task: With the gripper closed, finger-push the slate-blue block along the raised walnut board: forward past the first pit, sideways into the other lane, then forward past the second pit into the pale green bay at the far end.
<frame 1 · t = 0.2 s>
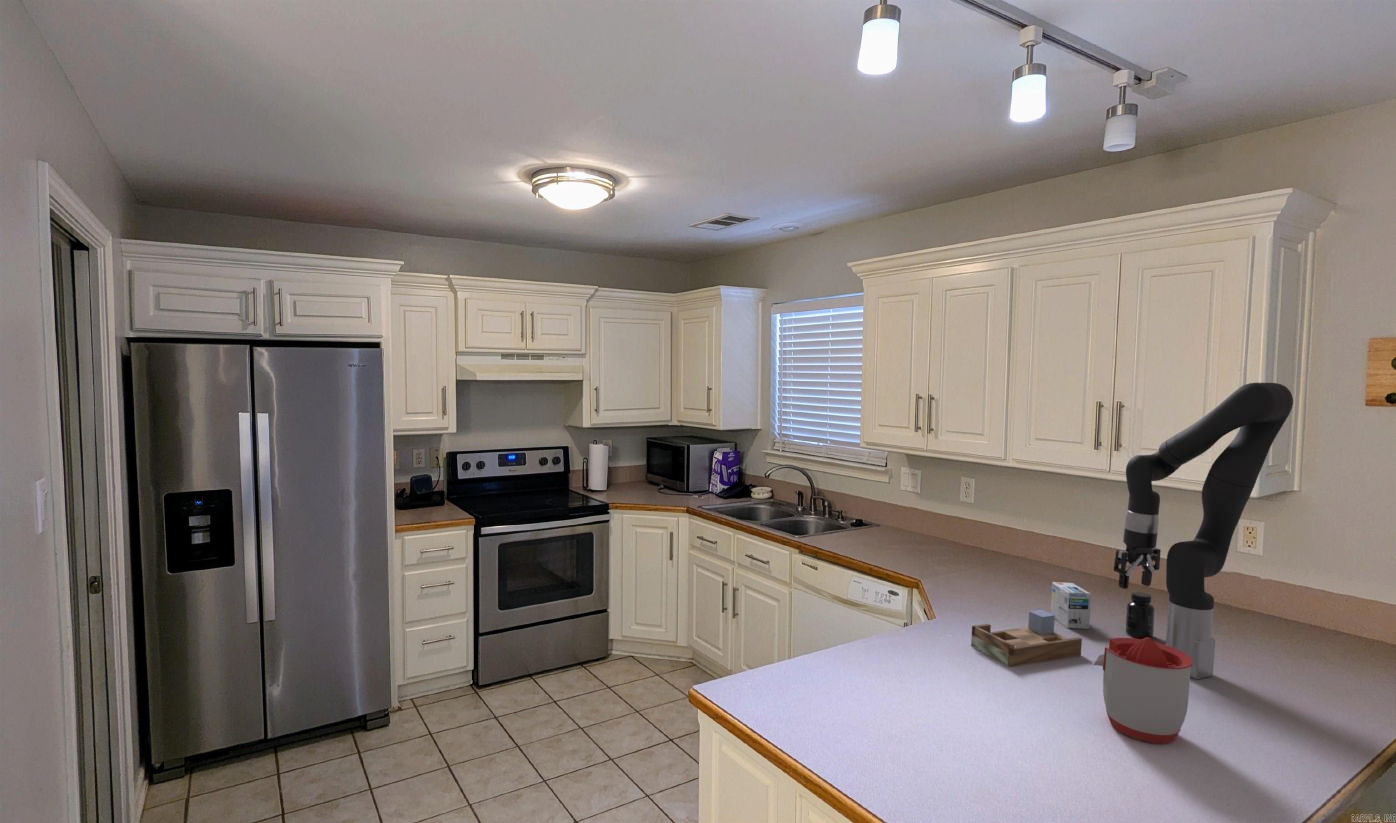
hand: (1134, 586, 189), 17 cm above the counter, tool pointing down, fingers open, 8 cm apart
block: (1040, 630, 194), point 3 cm above the counter, touching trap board
supplement bottle: (1138, 635, 201), on the counter
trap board: (1025, 650, 187), on the counter
light bulb box: (1069, 622, 210), on the counter
citrus juicer: (1136, 729, 147), on the counter
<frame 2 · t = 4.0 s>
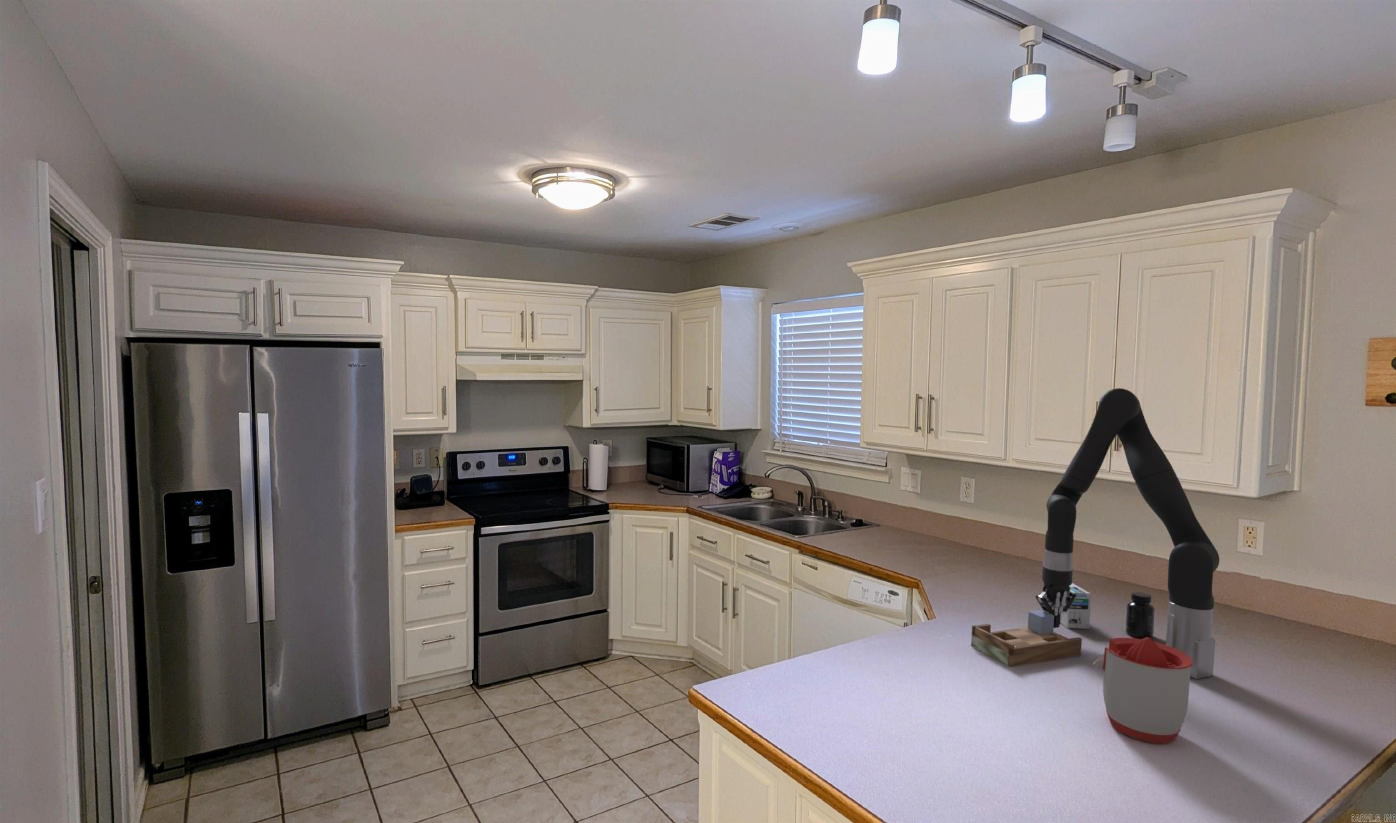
hand: (1054, 626, 196), 4 cm above the counter, tool pointing down, fingers closed
block: (1040, 630, 194), point 3 cm above the counter, touching gripper, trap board
everything else where it was.
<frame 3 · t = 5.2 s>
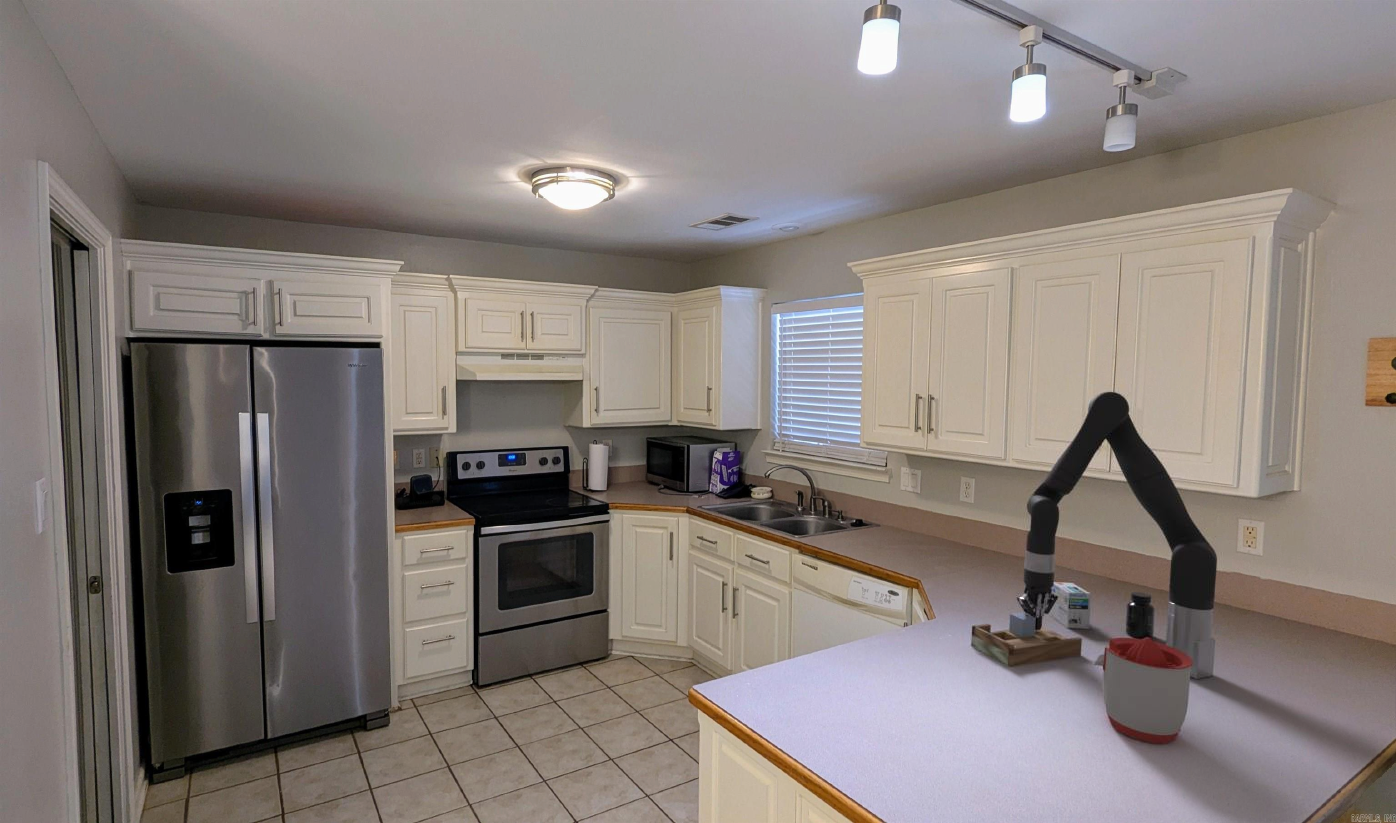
hand: (1035, 628, 193), 4 cm above the counter, tool pointing down, fingers closed
block: (1021, 633, 191), point 3 cm above the counter, touching gripper
everything else where it was.
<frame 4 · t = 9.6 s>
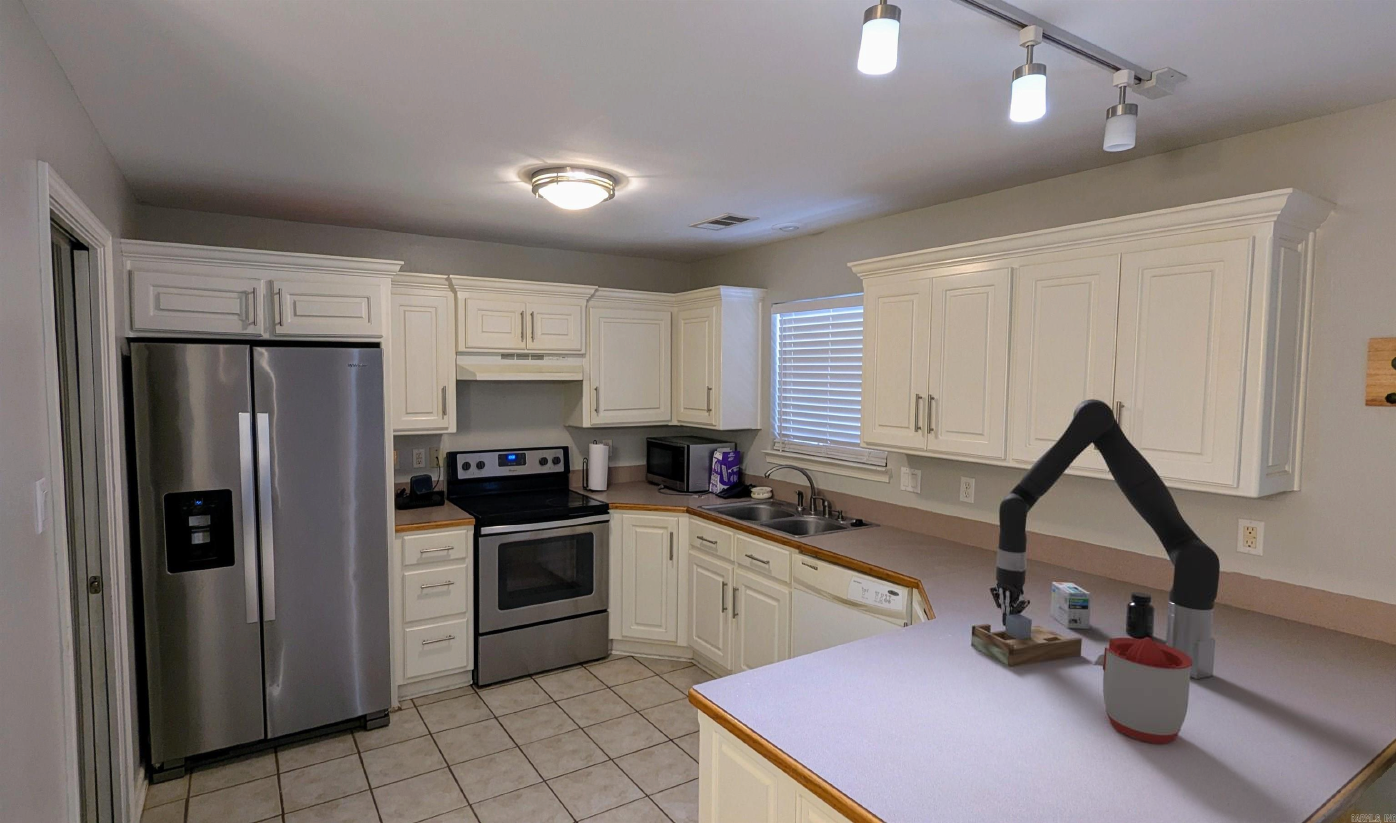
hand: (1007, 626, 195), 3 cm above the counter, tool pointing down, fingers closed
block: (1017, 635, 190), point 3 cm above the counter, touching gripper, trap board
everything else where it was.
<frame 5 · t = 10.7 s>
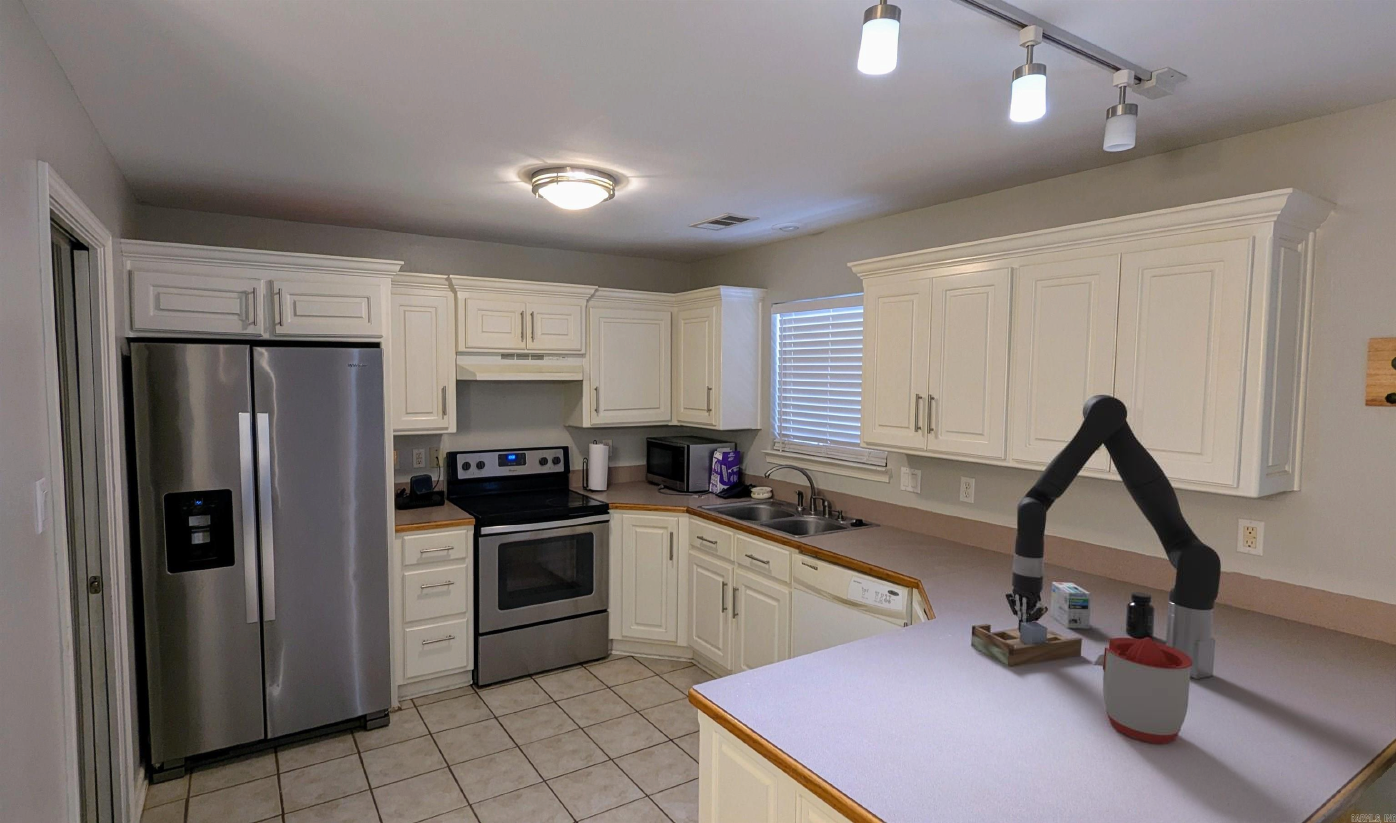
hand: (1024, 633, 190), 4 cm above the counter, tool pointing down, fingers closed
block: (1032, 643, 184), point 3 cm above the counter, touching gripper, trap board
everything else where it was.
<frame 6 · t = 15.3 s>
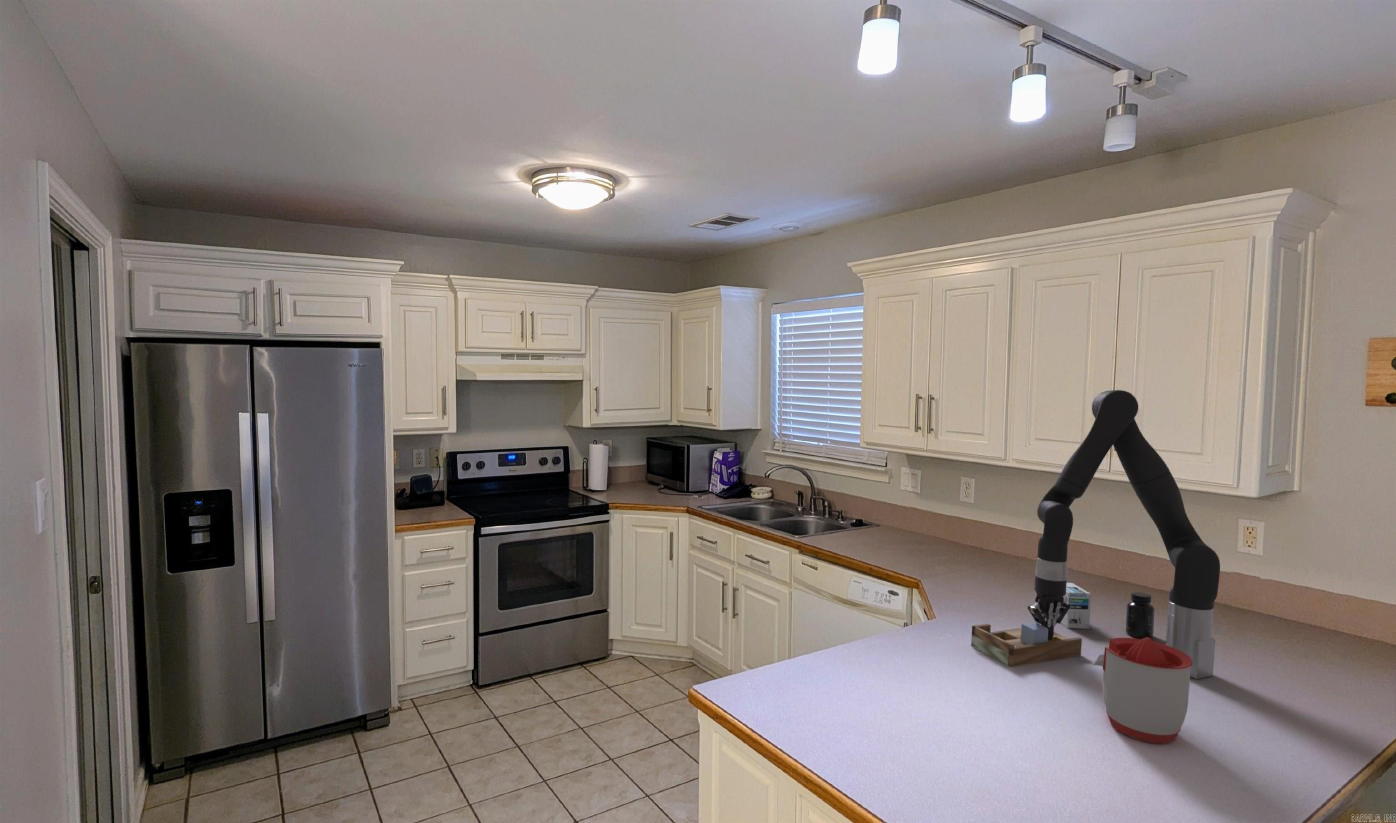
hand: (1047, 638, 186), 4 cm above the counter, tool pointing down, fingers closed
block: (1033, 644, 184), point 3 cm above the counter, touching gripper
everything else where it was.
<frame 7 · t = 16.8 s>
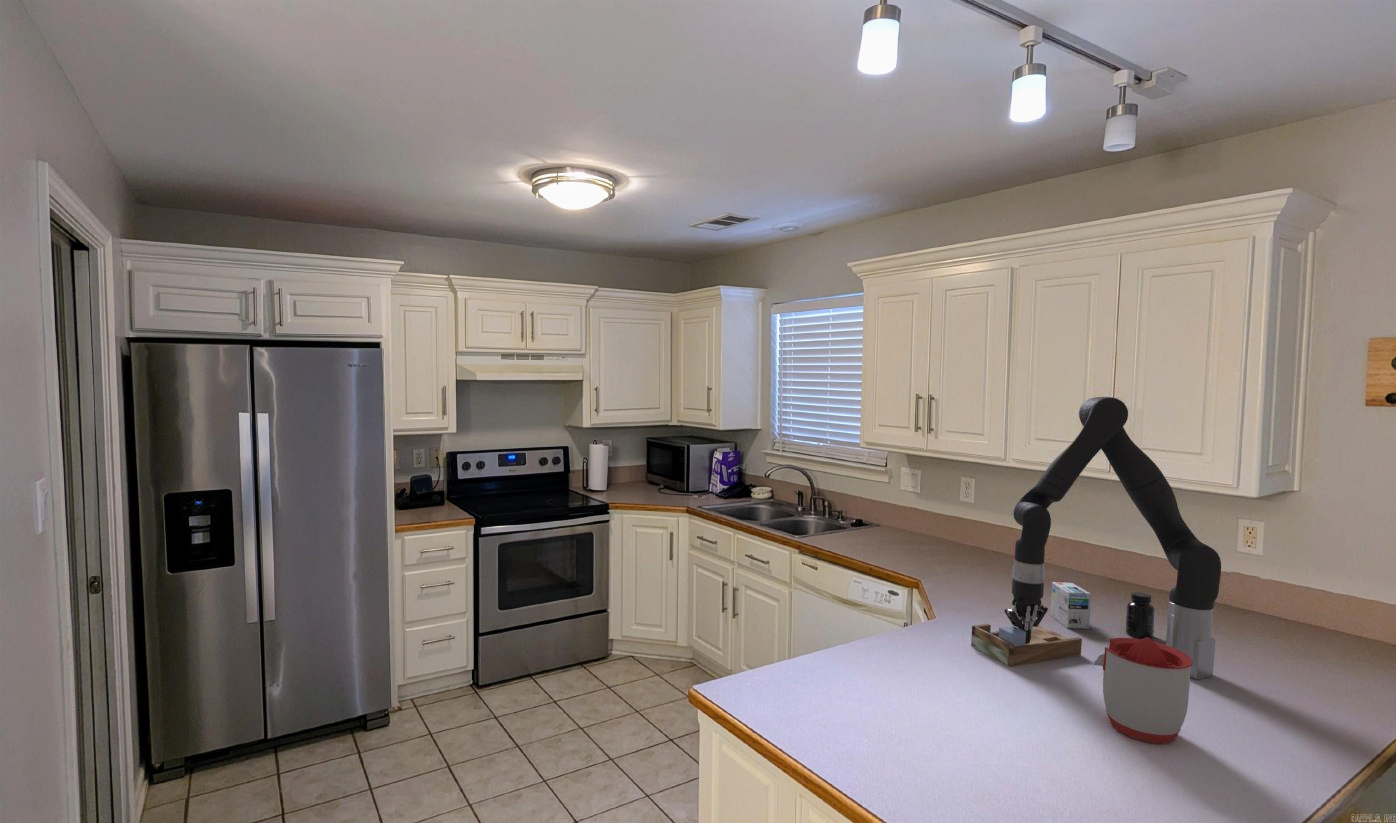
hand: (1024, 642, 183), 4 cm above the counter, tool pointing down, fingers closed
block: (1011, 648, 181), point 3 cm above the counter, touching gripper
everything else where it was.
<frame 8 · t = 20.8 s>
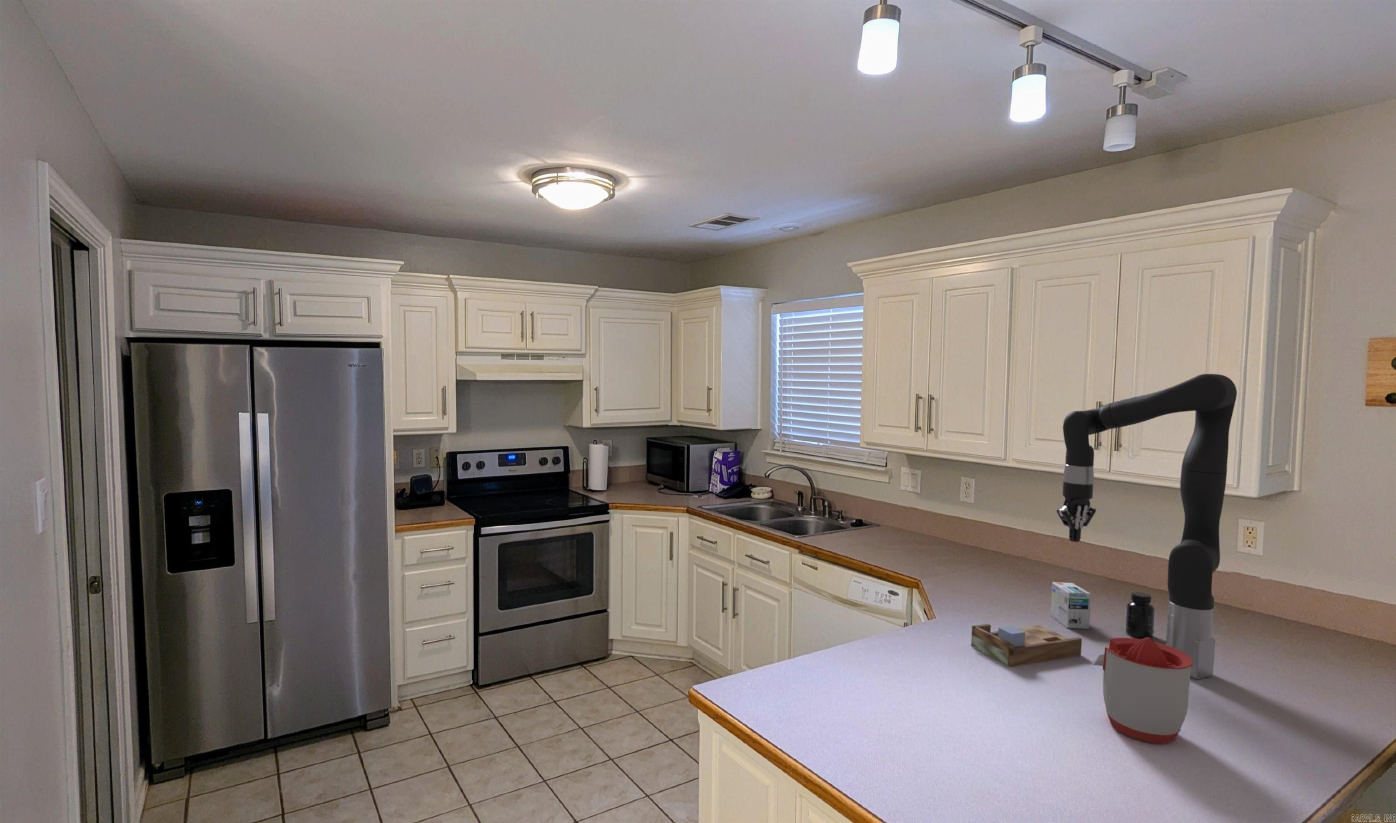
hand: (1074, 541, 199), 27 cm above the counter, tool pointing down, fingers closed
block: (1010, 648, 181), point 3 cm above the counter, touching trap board
everything else where it was.
at the end: block 1.0 cm from the target spot on the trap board, point 3.0 cm above the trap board's base; block tilted 0°; the gripper is holding nothing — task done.
